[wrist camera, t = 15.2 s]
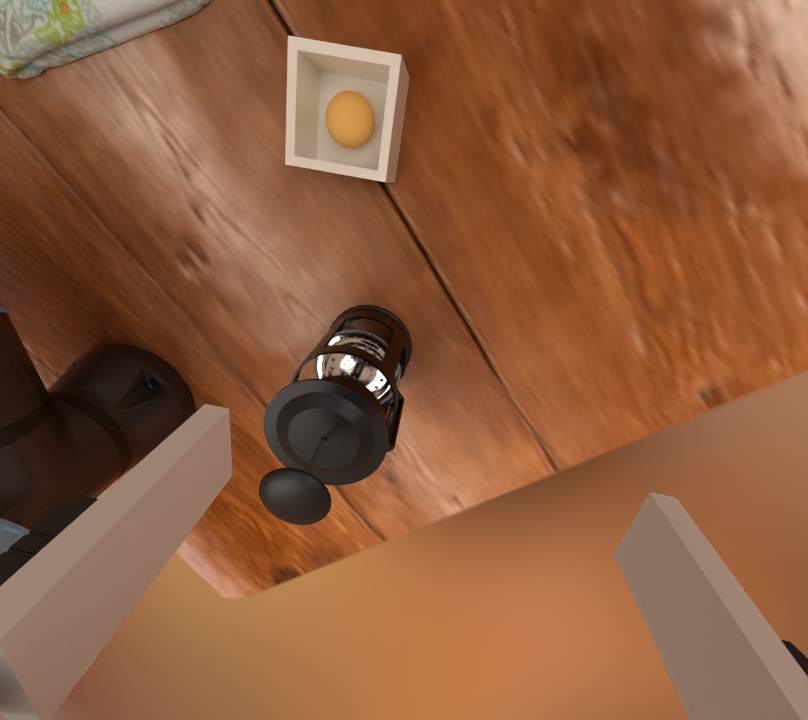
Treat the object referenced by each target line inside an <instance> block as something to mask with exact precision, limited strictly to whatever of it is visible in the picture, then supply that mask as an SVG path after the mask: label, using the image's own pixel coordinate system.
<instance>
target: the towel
mask: <svg viewBox="0 0 808 720" xmlns="http://www.w3.org/2000/svg"><path fill="white" fill-rule="evenodd" d="M209 2H210V0H0V74H2V75H3V76H4V77H6V78H8V79H14V78H22V79H27V78H31V77H37V76H39V75H40V74H41V73H42V71H43V70H45V69H47V68H49V67H50V66H52V67H55V66H61V65H64V64H67V63H70V62H72V61H74V60H77V59H80V58H83V57H86V56H88V55H91V54H93V53H96V52H99V51H103V50H105V49H107V48H110V47H113V46H116V45H118V44H121V43H123V42H126V41H128V40H131V39H133V38H136V37H139V36H141V35H144V34H147V33H149V32H152V31H154V30H157V29H160V28H162V27H166V26H169V25H171V24H175V23H176V22H178V21H180V20H183V19H185V18H187V17H189V16H192V15H193V14H195V13H197V12H198V11H200V10H201V9H202V8H203V6H204V5H206V4H208V3H209Z"/></svg>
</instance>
